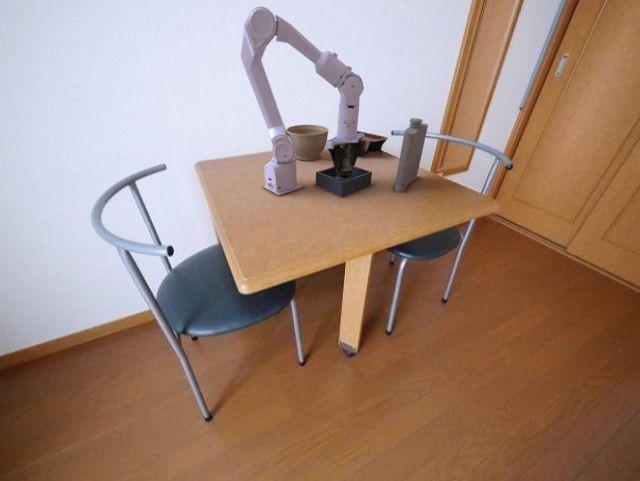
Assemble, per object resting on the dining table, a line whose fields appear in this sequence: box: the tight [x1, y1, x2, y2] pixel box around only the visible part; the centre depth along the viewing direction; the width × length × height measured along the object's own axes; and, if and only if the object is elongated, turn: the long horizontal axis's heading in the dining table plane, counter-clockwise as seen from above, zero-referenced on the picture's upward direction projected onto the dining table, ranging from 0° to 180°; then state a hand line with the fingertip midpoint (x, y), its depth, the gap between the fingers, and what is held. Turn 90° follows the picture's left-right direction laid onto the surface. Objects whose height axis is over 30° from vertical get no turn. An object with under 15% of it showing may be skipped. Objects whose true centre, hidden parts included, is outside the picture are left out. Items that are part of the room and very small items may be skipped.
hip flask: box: [393, 117, 429, 193], centre depth 89 cm, size 16×4×20 cm, turn 148°
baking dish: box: [357, 130, 389, 158], centre depth 120 cm, size 14×18×10 cm
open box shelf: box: [315, 165, 373, 198], centre depth 91 cm, size 14×12×4 cm
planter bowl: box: [286, 124, 330, 161], centre depth 112 cm, size 16×16×11 cm
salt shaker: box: [335, 143, 354, 181], centre depth 88 cm, size 6×6×12 cm
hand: (344, 167), depth 89 cm, fingers closed on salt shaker, 6 cm apart
